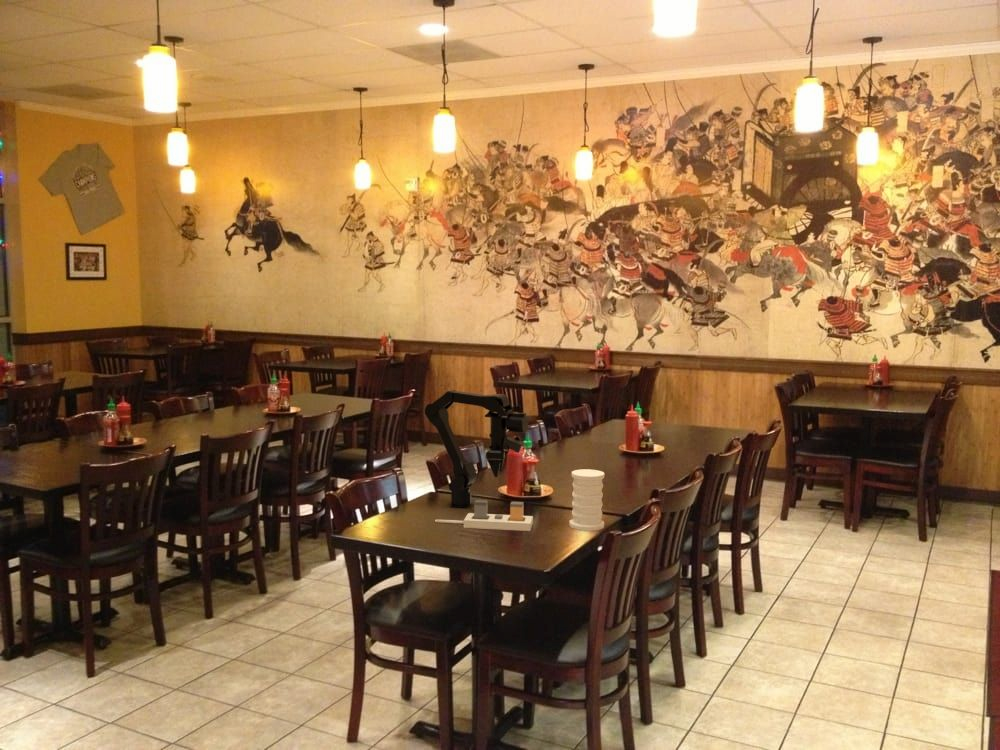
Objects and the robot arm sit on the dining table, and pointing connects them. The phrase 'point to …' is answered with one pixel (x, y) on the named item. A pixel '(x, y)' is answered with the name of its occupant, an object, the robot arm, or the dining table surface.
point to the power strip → (494, 522)
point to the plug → (516, 511)
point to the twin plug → (480, 509)
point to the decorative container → (587, 500)
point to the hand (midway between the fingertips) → (498, 474)
